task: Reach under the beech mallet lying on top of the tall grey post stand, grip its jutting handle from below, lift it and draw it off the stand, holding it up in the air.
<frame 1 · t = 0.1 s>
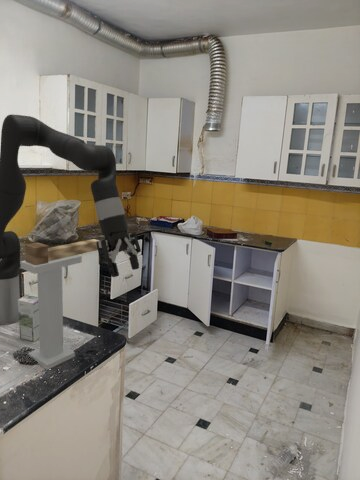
hand: (126, 272, 106), 31 cm above the table, tool tilted 20°, fingers open, 8 cm apart
mallet: (49, 259, 112), point 32 cm above the table, touching stand
stand: (51, 356, 120), on the table
syrup box: (31, 337, 131), on the table
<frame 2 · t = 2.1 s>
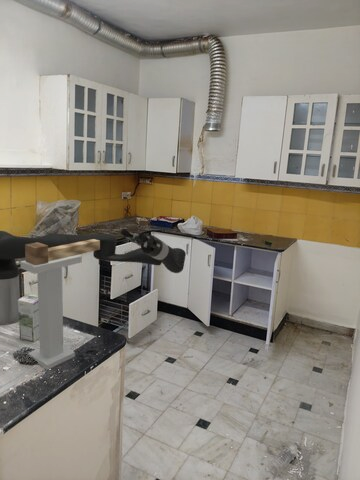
hand: (130, 233, 137), 35 cm above the table, tool pointing upward, fingers open, 8 cm apart
nothing on the table moved.
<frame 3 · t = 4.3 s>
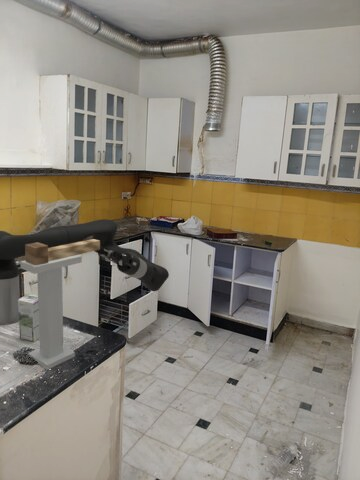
hand: (103, 250, 128), 31 cm above the table, tool pointing upward, fingers open, 8 cm apart
nothing on the table moved.
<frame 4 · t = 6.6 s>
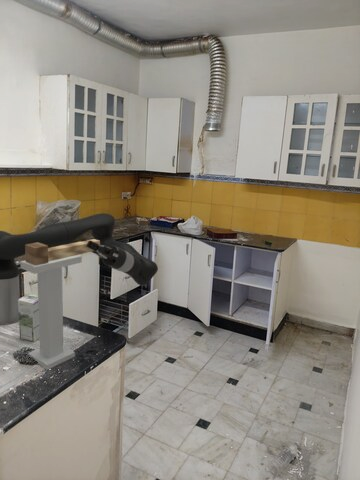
hand: (84, 242, 121), 35 cm above the table, tool pointing upward, fingers closed on mallet, 3 cm apart
mallet: (49, 259, 112), point 32 cm above the table, touching gripper, stand
everything else where it was.
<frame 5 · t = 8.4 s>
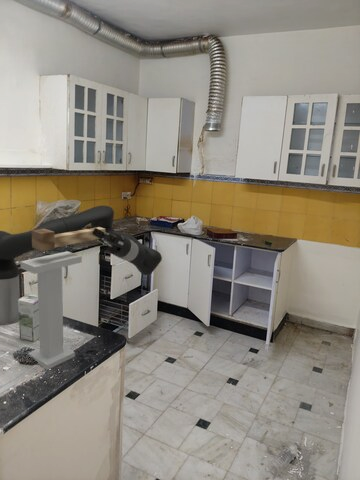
hand: (90, 230, 122), 39 cm above the table, tool pointing upward, fingers closed on mallet, 3 cm apart
mallet: (55, 245, 112), point 36 cm above the table, touching gripper
everything else where it was.
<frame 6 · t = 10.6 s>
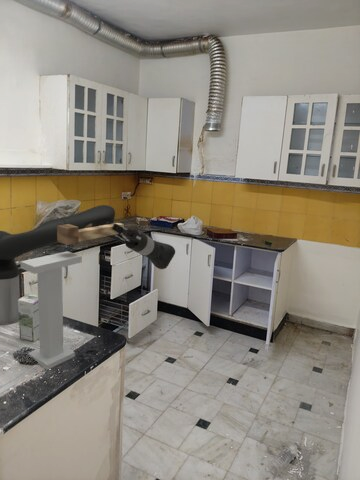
hand: (110, 225, 129), 39 cm above the table, tool pointing upward, fingers closed on mallet, 3 cm apart
mallet: (78, 240, 119), point 36 cm above the table, touching gripper
everything else where it was.
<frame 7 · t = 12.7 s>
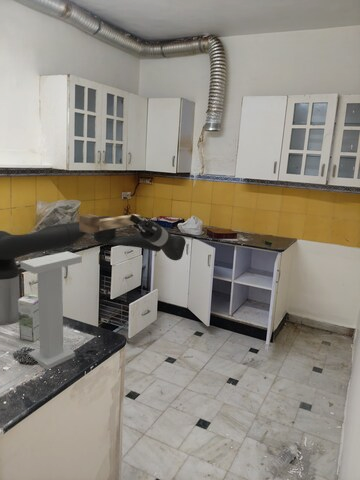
hand: (127, 216, 135), 41 cm above the table, tool pointing upward, fingers closed on mallet, 3 cm apart
mallet: (99, 229, 125), point 38 cm above the table, touching gripper
everything else where it was.
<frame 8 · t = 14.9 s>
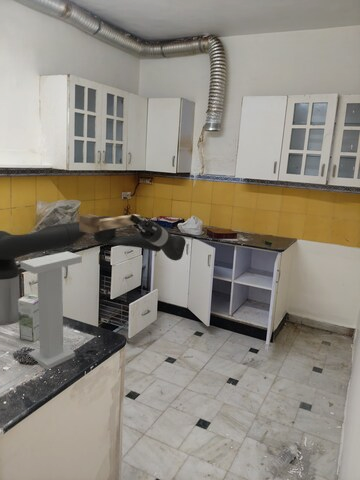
hand: (127, 216, 135), 41 cm above the table, tool pointing upward, fingers closed on mallet, 3 cm apart
mallet: (99, 229, 125), point 38 cm above the table, touching gripper
everything else where it was.
at the end: the gripper is holding mallet; mallet touching gripper; mallet moved 19.9 cm from its start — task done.
